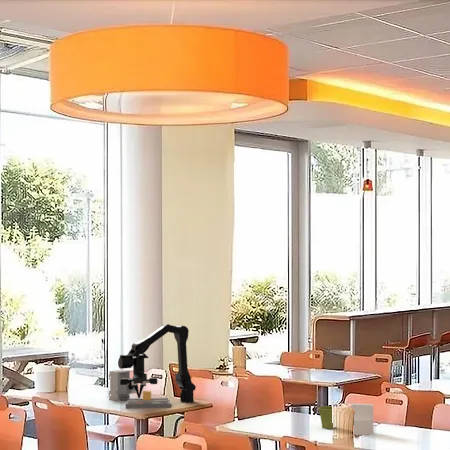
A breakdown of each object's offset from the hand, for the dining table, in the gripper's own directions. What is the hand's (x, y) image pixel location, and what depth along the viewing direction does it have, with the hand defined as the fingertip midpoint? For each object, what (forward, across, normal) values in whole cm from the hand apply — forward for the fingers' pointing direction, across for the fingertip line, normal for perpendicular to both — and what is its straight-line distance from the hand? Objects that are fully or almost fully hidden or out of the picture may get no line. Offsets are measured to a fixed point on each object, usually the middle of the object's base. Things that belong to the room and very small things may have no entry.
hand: (139, 398), depth 482 cm
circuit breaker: (+4, -10, +24) cm, 26 cm away
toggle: (+2, +4, 0) cm, 4 cm away
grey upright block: (+4, +98, -89) cm, 132 cm away
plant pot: (+4, +86, -75) cm, 114 cm away
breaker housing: (+4, +4, 0) cm, 6 cm away
